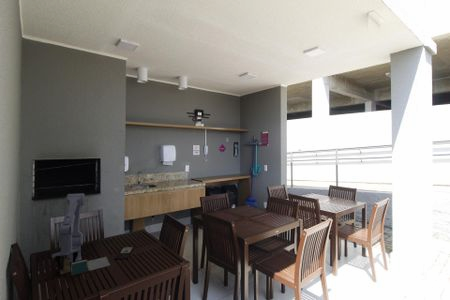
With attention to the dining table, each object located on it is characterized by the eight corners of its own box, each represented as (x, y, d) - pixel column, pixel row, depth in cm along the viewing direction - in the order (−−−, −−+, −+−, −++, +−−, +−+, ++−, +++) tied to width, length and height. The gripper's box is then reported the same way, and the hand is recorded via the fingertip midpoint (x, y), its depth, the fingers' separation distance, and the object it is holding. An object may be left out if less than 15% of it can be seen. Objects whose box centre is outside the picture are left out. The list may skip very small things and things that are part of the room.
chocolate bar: (114, 258, 164) (121, 247, 182) (114, 260, 164) (121, 248, 182) (128, 258, 165) (134, 247, 183) (128, 259, 165) (134, 248, 183)
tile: (71, 274, 145) (71, 263, 145) (86, 270, 150) (86, 259, 150) (71, 275, 144) (71, 264, 144) (87, 271, 149) (87, 260, 148)
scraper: (59, 271, 149) (59, 259, 149) (73, 268, 153) (73, 256, 153) (60, 274, 145) (60, 261, 145) (73, 270, 150) (73, 258, 149)
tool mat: (86, 262, 160) (86, 261, 160) (106, 257, 167) (106, 256, 167) (88, 271, 149) (89, 270, 149) (110, 265, 156) (110, 265, 156)
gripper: (52, 249, 141) (52, 272, 142) (81, 243, 150) (81, 265, 150) (52, 245, 147) (52, 267, 147) (79, 240, 155) (80, 261, 156)
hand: (66, 266), depth 149 cm, fingers open, 6 cm apart
